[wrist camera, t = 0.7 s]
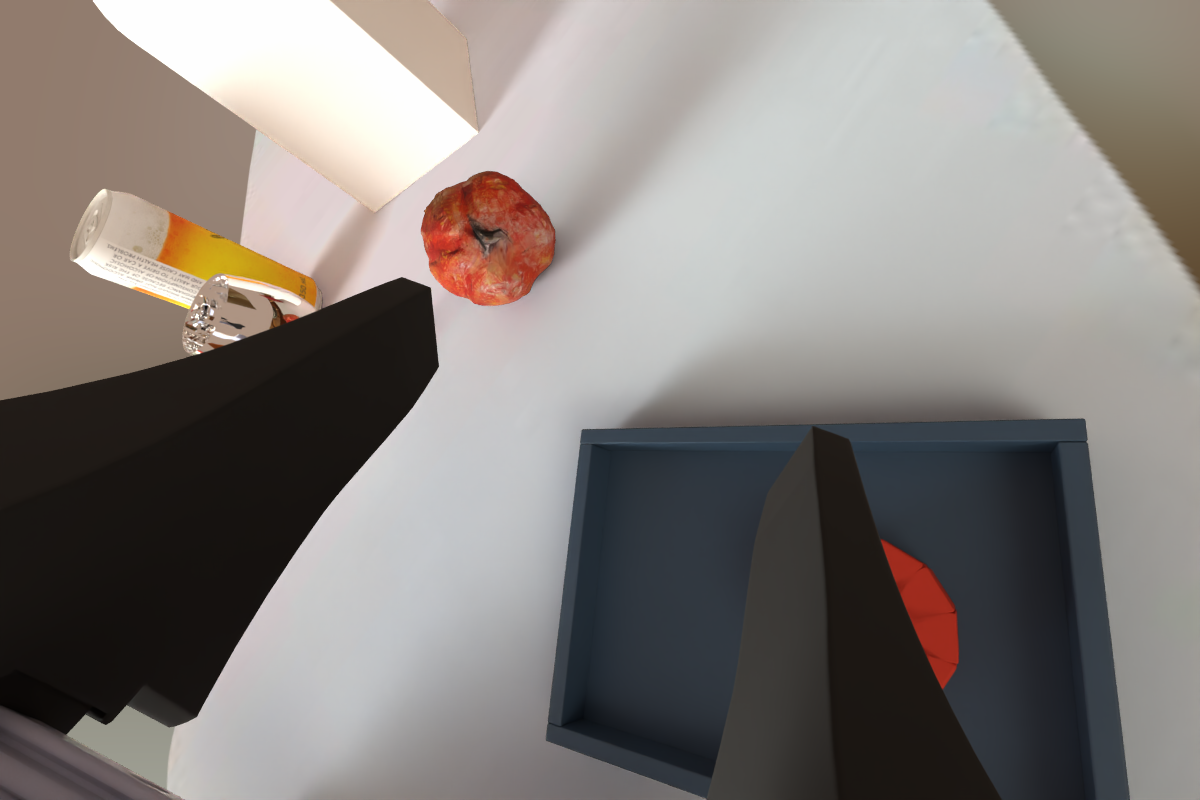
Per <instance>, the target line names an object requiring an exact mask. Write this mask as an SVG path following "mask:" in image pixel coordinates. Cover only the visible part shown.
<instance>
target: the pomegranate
mask: <svg viewBox="0 0 1200 800" xmlns="http://www.w3.org/2000/svg"><path fill="white" fill-rule="evenodd" d="M424 212H425V215H424V218H423V222H422V227H421V235H422V236H423V240H424V247H425V250H426V253H427V255H428V258H429V268H430V271H431V273H432V274H433V276H434V277H435V279H436V280H437V281H438V282H439V283H440V284H441V285H442V286H443V287H444V288H445V289H447V290H448V291H449V292H451V293H453V294H455V295H457V296H460V297H465V298H468V299H469V300H471V301H472V302H473V303H474V304H478V305H482V306H496V305H503V304H507V303H511V302H514V301H516V300H518V299H520V298H521V297H522V296H525V295H526V294H528V293H529V291H530V290H531V287H532V285H533V282H534V281H535V279H536V278H537V277H538V275H539V274H540V273H542V272H543V271H544V270H545V269H546V268H547V267H548V266H549V265H550V264H551V262H552V259H553V256H554V248H555V241H556V239H555V229H554V227H553V225H552V223H551V221H550V218H549V216H548V215H547V214H546V212H545V211H544V210H543V208H542V207H541V205H540V204H539V203H538V202H537V201H535V200H534V199H533V197H532V196H530V195H529V194H528V193H527V192H526V191H524V190H523V189H522V188H521V187H520V185H519V184H518V183H517V182H515V180H514V179H511V178H509V177H508V176H505V175H502V174H500V173H498V172H493V171H486V172H481V173H478V174H476V175H473V176H472V177H470V178H469V179H468V180H467V181H465V182H461V183H459V184H456V185H454V186H452V187H448V188H445V189H444V190H442V191H441V192H438V193H437V194H436V195H435V198H434V199H433V200H432V201H431V203H430V204H429V206H427V207H426V210H424Z"/></svg>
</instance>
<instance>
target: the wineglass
mask: <svg viewBox="0 0 1200 800" xmlns="http://www.w3.org/2000/svg"><path fill="white" fill-rule="evenodd" d="M315 311H317V310H316V309H315V308H314V307H313V306H312V305H311V304H310V303H309V302H308V301H306V300H305V299H303V298H302V297H300V296H298V295H297V294H295V293H293V292H290V291H288V290H286V289H283V288H281V287H278V286H275V285H271V284H268V283H265V282H261V281H257V280H253V279H249V278H244V277H239V276H233V275H228V274H222V273H219V274H216V275H214V276H212V277H211V278H210V279H209V280H207V282H206V283H205V284H204V285H203V286H202V288H201V289H200V290H199V292H198V293H197V295H196V297H195V299H194V301H193V302H192V305H191V307H190V309H189V311H188V314H187V317H186V320H185V324H184V328H183V336H182V337H183V339H182V341H183V347H184V349H185V351H186V352H188V353H189V354H191V355H197V354H200V353H203V352H206V351H209V350H212V349H215V348H219V347H222V346H224V345H227V344H230V343H233V342H235V341H238V340H241V339H244V338H247V337H249V336H252V335H255V334H258V333H260V332H263V331H266V330H269V329H272V328H274V327H277V326H280V325H283V324H285V323H288V322H290V321H293V320H295V319H298V318H300V317H303V316H305V315H308V314H310V313H313V312H315Z"/></svg>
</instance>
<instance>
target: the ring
mask: <svg viewBox="0 0 1200 800" xmlns="http://www.w3.org/2000/svg"><path fill="white" fill-rule="evenodd" d="M880 540H881V542H882V545H883V548H884V551H885V554H886V556H887V559H888V562H889V565H890V568H891V570H892V573H893V576H894V579H895V581H896V584H897V586H898V589H899V592H900V594H901V597H902V599H903V602H904V604H905V607H906V609H907V611H908V614H909V616H910V619H911V621H912V623H913V626H914V628H915V631H916V633H917V635H918V638H919V640H920V642H921V644H922V647H923V649H924V651H925V654H926V656H927V658H928V660H929V662H930V664H931V667H932V669H933V671H934V673H935V675H936V677H937V679H938V681H939V683H940V685H941V687H942V689H943V688H944V687H945V685H946V684H947V682H948V681H949V679H950V678H951V676H952V675H953V673H954V672H955V670H956V668H957V664H958V663H959V643H958V625H957V610H956V609H955V605H954V603H953V602H952V600H951V599H950V597H949V595H948V594H947V592H946V591H945V589H944V588H943V586H942V585H941V583H940V582H939V580H938V579H937V577H936V575H935V574H934V572H933V571H932V569H930V568H928V566H927V565H926V564H924V563H922V562H921V561H919V560H917V559H916V558H914V557H912V556H911V555H909V554H907V553H906V552H904V551H902V550H901V549H899V548H897V547H896V546H894V545H892V544H891V543H889V542H887V541H885V540H883V539H880Z"/></svg>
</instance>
